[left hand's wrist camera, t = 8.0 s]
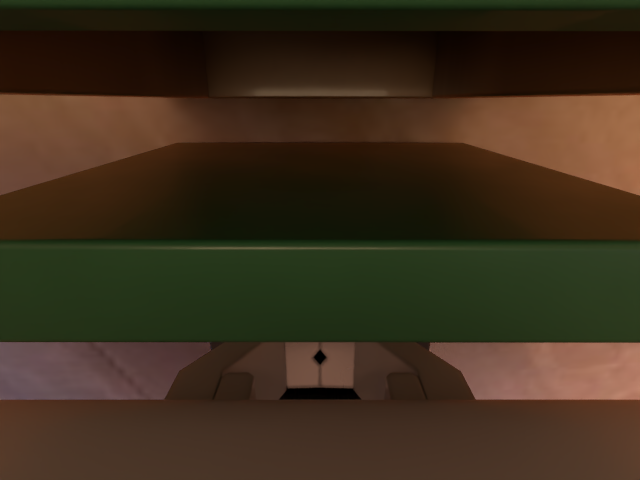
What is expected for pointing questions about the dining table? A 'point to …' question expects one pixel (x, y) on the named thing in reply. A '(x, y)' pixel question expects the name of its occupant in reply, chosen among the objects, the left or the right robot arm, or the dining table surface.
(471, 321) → the drawer
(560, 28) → the green drawer cabinet
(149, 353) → the dining table surface
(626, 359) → the dining table surface
